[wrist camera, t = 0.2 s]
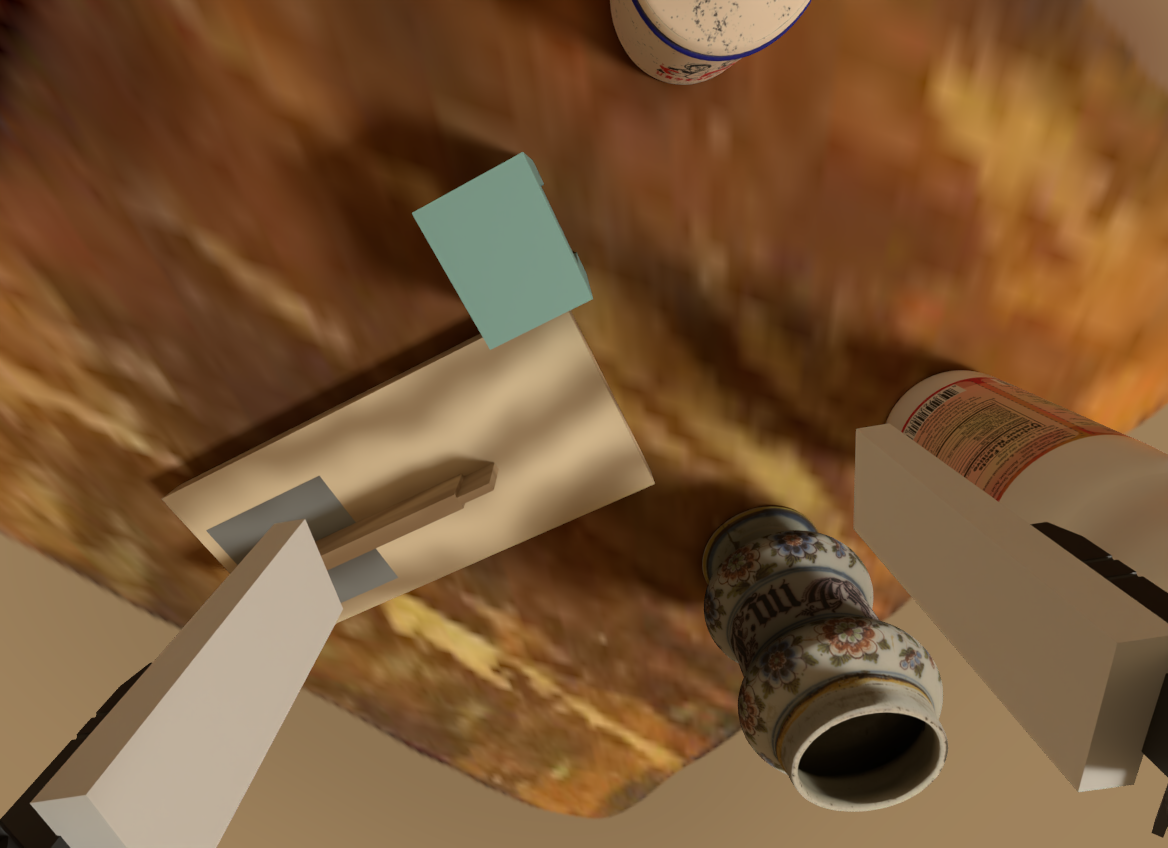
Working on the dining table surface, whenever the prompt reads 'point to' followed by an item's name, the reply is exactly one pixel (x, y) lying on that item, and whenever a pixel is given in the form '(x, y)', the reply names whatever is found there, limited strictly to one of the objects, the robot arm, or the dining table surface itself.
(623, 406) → the dining table surface
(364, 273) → the dining table surface
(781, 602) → the apothecary jar
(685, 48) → the teacup with lid
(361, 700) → the dining table surface
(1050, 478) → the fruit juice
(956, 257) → the dining table surface
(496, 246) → the bracket
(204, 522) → the board
